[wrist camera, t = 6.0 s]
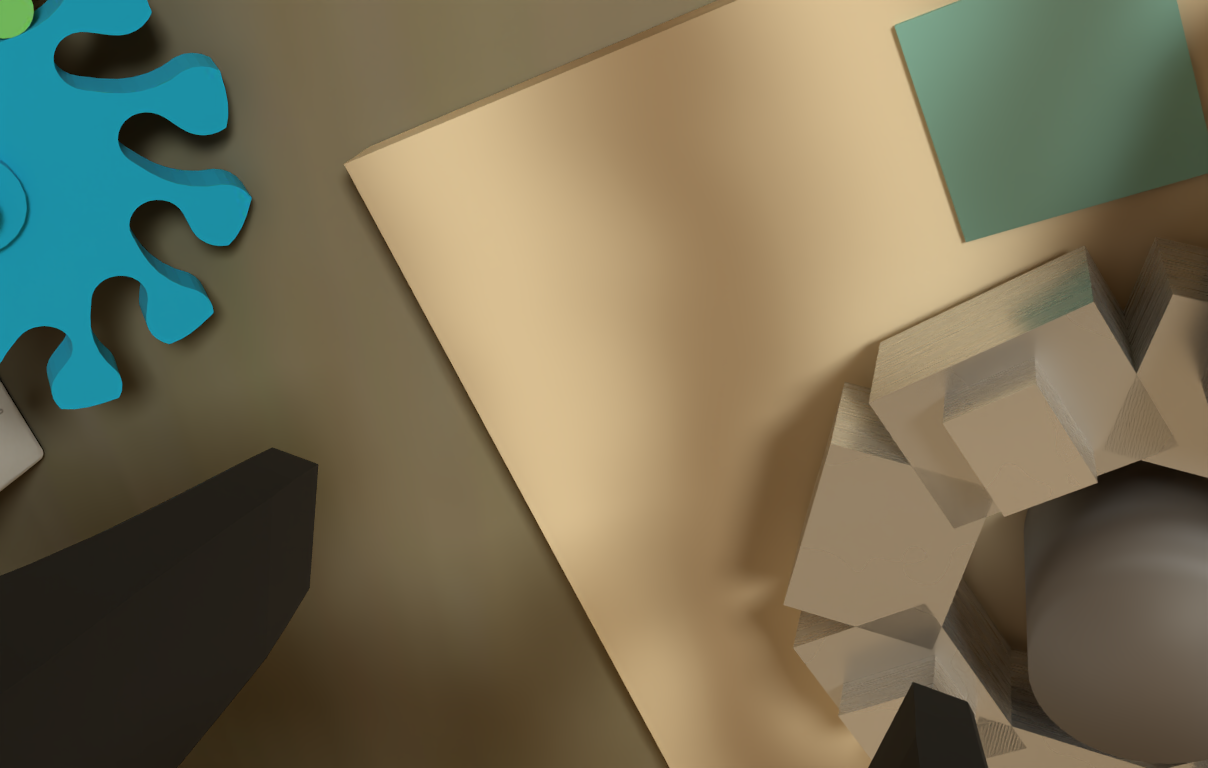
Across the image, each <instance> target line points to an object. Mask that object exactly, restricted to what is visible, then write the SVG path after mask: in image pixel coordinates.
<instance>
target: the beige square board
mask: <svg viewBox="0 0 1208 768" xmlns="http://www.w3.org/2000/svg"><path fill="white" fill-rule="evenodd" d="M344 165H345V167H346V169H347V171H348V173H349V174H350V176H351V178H352V180H353V182H354V184H355V185H356V187H357V189H358V191H359V193H360V195H361V197H362V198H363V200H364V202H365V204H366V206H367V208H368V210H369V211H370V213H371V215H372V217H373V219H374V221H375V223H376V224H377V226H378V228H379V230H380V232H381V234H382V236H383V237H384V239H385V241H386V243H387V245H388V247H389V249H390V250H391V252H392V254H393V256H394V258H395V260H396V261H397V263H398V265H399V267H400V269H401V271H402V273H403V274H404V276H405V278H406V280H407V282H408V284H409V286H410V287H411V289H412V291H413V293H414V295H415V297H416V299H417V300H418V302H419V304H420V306H421V308H422V310H423V312H424V313H425V315H426V317H427V319H428V321H429V323H430V325H431V326H432V328H433V330H434V332H435V334H436V336H437V337H438V339H439V341H440V343H441V345H442V347H443V349H444V350H445V352H446V354H447V356H448V358H449V360H450V362H451V363H452V365H453V367H454V369H455V371H456V373H457V375H458V376H459V378H460V380H461V382H462V384H463V386H464V388H465V389H466V391H467V393H468V395H469V397H470V399H471V401H472V402H473V404H474V406H475V408H476V410H477V412H478V413H479V415H480V417H481V419H482V421H483V423H484V425H485V426H486V428H487V430H488V432H489V434H490V436H491V438H492V439H493V441H494V443H495V445H496V447H497V449H498V451H499V452H500V454H501V456H502V458H503V460H504V462H505V464H506V465H507V467H508V469H509V471H510V473H511V475H512V477H513V478H514V480H515V482H516V484H517V486H518V488H519V489H520V491H521V493H522V495H523V497H524V499H525V501H526V502H527V504H528V506H529V508H530V510H531V512H532V514H533V515H534V517H535V519H536V521H537V523H538V525H539V527H540V528H541V530H542V532H543V534H544V536H545V538H546V540H547V541H548V543H549V545H550V547H551V549H552V551H553V553H554V554H555V556H556V558H557V560H558V562H559V564H560V565H561V567H562V569H563V571H564V573H565V575H566V577H567V578H568V580H569V582H570V584H571V586H572V588H573V590H574V591H575V593H576V595H577V597H578V599H579V601H580V603H581V604H582V606H583V608H584V610H585V612H586V614H587V616H588V617H589V619H590V621H591V623H592V625H593V627H594V629H595V630H596V632H597V634H598V636H599V638H600V640H601V641H602V643H603V645H604V647H605V649H606V651H607V653H608V654H609V656H610V658H611V660H612V662H613V664H614V666H615V667H616V669H617V671H618V673H619V675H620V677H621V679H622V680H623V682H624V684H625V686H626V688H627V690H628V692H629V693H630V695H631V697H632V699H633V701H634V703H635V705H636V706H637V708H638V710H639V712H640V714H641V716H642V717H643V719H644V721H645V723H646V725H647V727H648V729H649V730H650V732H651V734H652V736H653V738H654V740H655V742H656V743H657V745H658V747H659V749H660V751H661V753H662V755H663V756H664V758H665V760H666V762H667V764H668V766H669V768H868V767H869V765H870V763H871V761H872V760H871V759H870V757H869V756H868V755H867V753H866V752H865V751H864V749H863V748H862V747H861V745H860V744H859V743H858V741H857V740H856V739H855V737H854V736H853V735H852V733H851V732H850V731H849V730H848V728H847V727H846V726H845V724H844V723H843V722H842V720H841V719H840V718H839V716H838V715H839V708H838V707H837V705H836V704H835V703H834V701H833V700H832V699H831V698H830V696H829V695H828V694H827V692H826V691H825V690H824V688H823V687H822V686H821V684H820V683H819V682H818V680H817V679H816V678H815V676H814V675H813V674H812V672H811V671H810V670H809V668H808V667H807V666H806V664H805V663H804V662H803V660H802V659H801V658H800V656H799V655H798V654H797V653H796V651H795V650H794V649H793V646H794V641H795V636H796V632H797V627H798V623H799V618H800V614H801V610H798V609H795V608H792V607H788V606H785V605H783V604H784V600H785V596H786V592H787V588H788V583H789V579H790V575H791V571H792V567H793V563H794V558H795V554H796V550H797V546H798V542H799V538H800V534H801V530H802V527H803V524H804V520H805V517H806V513H807V510H808V507H809V503H810V500H811V496H812V493H813V489H814V486H815V483H816V479H817V476H818V472H819V469H820V465H821V462H822V459H823V455H824V452H825V448H826V445H827V441H828V438H829V435H830V431H831V428H832V424H833V421H834V417H835V414H836V411H837V407H838V404H839V400H840V397H841V393H842V390H843V387H844V383H845V382H848V383H851V384H855V385H859V386H863V387H867V388H870V389H871V388H872V383H873V378H874V372H875V367H876V361H877V356H878V351H879V345H880V342H883V341H885V340H887V339H889V338H891V337H893V336H895V335H897V334H899V333H901V332H903V331H906V330H908V329H910V328H912V327H914V326H916V325H918V324H920V323H922V322H924V321H927V320H929V319H931V318H933V317H935V316H937V315H939V314H941V313H943V312H945V311H947V310H950V309H952V308H954V307H956V306H958V305H960V304H962V303H964V302H966V301H968V300H971V299H973V298H975V297H977V296H979V295H981V294H983V293H985V292H987V291H989V290H991V289H994V288H996V287H998V286H1000V285H1002V284H1004V283H1006V282H1008V281H1010V280H1012V279H1015V278H1017V277H1019V276H1021V275H1023V274H1025V273H1027V272H1029V271H1031V270H1033V269H1035V268H1038V267H1040V266H1042V265H1044V264H1046V263H1048V262H1050V261H1052V260H1054V259H1056V258H1059V257H1061V256H1063V255H1065V254H1067V253H1069V252H1071V251H1073V250H1075V249H1077V248H1079V247H1082V246H1084V245H1085V247H1086V249H1087V250H1088V252H1089V254H1090V255H1091V257H1092V259H1093V261H1094V262H1095V264H1096V266H1097V267H1098V269H1099V271H1100V272H1101V274H1102V276H1103V278H1104V279H1105V281H1106V283H1107V284H1108V286H1109V288H1110V290H1111V291H1112V293H1113V295H1114V296H1115V298H1116V300H1117V301H1118V303H1119V305H1120V307H1121V308H1122V310H1123V311H1124V309H1125V307H1126V304H1127V302H1128V300H1129V297H1130V295H1131V293H1132V290H1133V288H1134V286H1135V284H1136V281H1137V279H1138V277H1139V274H1140V272H1141V270H1142V267H1143V265H1144V263H1145V261H1146V258H1147V256H1148V254H1149V251H1150V249H1151V247H1152V244H1153V242H1154V240H1155V238H1156V237H1158V238H1162V239H1166V240H1171V241H1175V242H1180V243H1184V244H1188V245H1193V246H1197V247H1201V248H1206V249H1208V0H717V1H715V2H712V3H710V4H708V5H705V6H703V7H701V8H698V9H696V10H693V11H691V12H689V13H686V14H684V15H681V16H679V17H677V18H674V19H672V20H670V21H667V22H665V23H662V24H660V25H658V26H655V27H653V28H651V29H648V30H646V31H643V32H641V33H639V34H636V35H634V36H632V37H629V38H627V39H624V40H622V41H620V42H617V43H615V44H613V45H610V46H608V47H605V48H603V49H601V50H598V51H596V52H593V53H591V54H589V55H586V56H584V57H582V58H579V59H577V60H574V61H572V62H570V63H567V64H565V65H563V66H560V67H558V68H555V69H553V70H551V71H548V72H546V73H544V74H541V75H539V76H536V77H534V78H532V79H529V80H527V81H525V82H522V83H520V84H517V85H515V86H513V87H510V88H508V89H505V90H503V91H501V92H498V93H496V94H494V95H491V96H489V97H486V98H484V99H482V100H479V101H477V102H475V103H472V104H470V105H467V106H465V107H463V108H460V109H458V110H456V111H453V112H451V113H448V114H446V115H444V116H441V117H439V118H437V119H434V120H432V121H429V122H427V123H425V124H422V125H420V126H417V127H415V128H413V129H410V130H408V131H406V132H403V133H401V134H398V135H396V136H394V137H391V138H389V139H387V140H384V141H382V142H379V143H377V144H375V145H372V146H370V147H368V148H367V149H365V150H364V151H362V152H361V153H359V154H358V155H357V156H355V157H354V158H352V159H351V160H349V161H348V162H346V163H345V164H344ZM1097 481H1098V483H1096V484H1093V485H1090V486H1087V487H1085V488H1082V489H1079V490H1077V491H1074V492H1071V493H1068V494H1066V495H1063V496H1060V497H1057V498H1055V499H1052V500H1049V501H1046V502H1044V503H1041V504H1038V505H1035V506H1033V507H1030V508H1027V509H1025V510H1022V511H1019V512H1016V513H1014V514H1011V515H1008V516H1005V517H1004V516H1003V514H1002V513H1001V512H998V513H996V514H993V515H990V516H987V517H986V519H985V521H984V524H983V526H982V529H981V531H980V534H979V536H978V539H977V541H976V544H975V546H974V549H973V551H972V554H971V556H970V559H969V561H968V563H967V566H966V568H965V571H964V573H963V576H962V577H963V579H964V580H965V582H966V583H967V585H968V586H969V587H970V589H971V590H972V592H973V593H974V595H975V596H976V598H977V599H978V601H979V602H980V604H981V605H982V606H983V608H984V609H985V611H986V612H987V614H988V615H989V617H990V618H991V620H992V621H993V622H994V624H995V625H996V627H997V628H998V630H999V631H1000V633H1001V634H1002V636H1003V637H1004V639H1005V640H1006V641H1007V643H1008V644H1009V646H1010V647H1011V648H1014V649H1017V650H1021V651H1024V652H1027V654H1028V674H1029V681H1030V685H1031V688H1032V691H1033V693H1034V695H1035V698H1036V700H1037V702H1038V703H1039V705H1040V706H1041V708H1042V709H1043V711H1044V712H1045V713H1046V714H1047V715H1048V717H1049V718H1050V719H1051V720H1052V721H1053V722H1054V723H1055V724H1056V725H1057V726H1059V727H1060V728H1061V729H1062V730H1063V731H1065V732H1066V733H1067V734H1069V735H1070V736H1072V737H1073V738H1075V739H1076V740H1078V741H1080V742H1082V743H1084V744H1086V745H1087V746H1090V747H1092V748H1094V749H1097V750H1099V751H1101V752H1104V753H1107V754H1110V755H1113V756H1116V757H1120V758H1125V759H1129V760H1134V761H1141V762H1148V763H1163V764H1173V763H1189V762H1197V761H1203V760H1208V478H1207V477H1203V476H1199V475H1196V474H1192V473H1188V472H1184V471H1180V470H1177V469H1173V468H1169V467H1165V466H1161V465H1158V464H1154V463H1150V462H1146V461H1142V460H1139V461H1136V462H1134V463H1131V464H1128V465H1126V466H1123V467H1120V468H1117V469H1115V470H1112V471H1109V472H1107V473H1104V474H1101V475H1099V476H1097Z"/></svg>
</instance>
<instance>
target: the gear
mask: <svg viewBox="0 0 1208 768" xmlns="http://www.w3.org/2000/svg"><path fill="white" fill-rule="evenodd" d="M151 13H152V11H151V9H150V6H149V4H148V2H147V0H47V1H46V2H45V3H44V4H43V5H42V6H41V7H39V8H38V9H37V10H35V11H34V9H33V3H32V0H0V363H1V361H2V360H3V358H4V356H5V355H6V353H7V352H8V351H9V349H10V348H11V347H12V345H13V344H14V343H15V341H16V340H17V339H18V338H19V337H20V336H21V335H22V334H23V333H24V332H26V331H27V330H29V329H32V328H34V327H40V326H50V327H54V328H57V329H60V330H62V331H63V332H64V333H66V336H65V338H64V340H63V341H62V343H61V344H60V345H59V346H58V348H57V349H56V350H55V352H54V353H53V354H52V356H51V357H50V359H49V361H48V364H47V375H48V379H49V384H50V388H51V392H52V396H53V399H54V401H55V402H56V404H57V405H58V406H59V407H60V408H61V409H79V408H86V407H90V406H94V405H98V404H102V403H105V402H108V401H111V400H114V399H117V398H119V397H120V394H121V392H122V381H121V377H120V374H119V371H118V368H117V365H116V362H115V359H114V356H113V355H112V353H111V352H110V351H109V350H108V349H107V348H106V347H105V346H104V345H103V344H102V343H101V342H100V341H99V340H98V338H97V337H96V336H95V334H94V333H93V331H92V329H91V320H90V313H91V299H92V294H93V292H94V290H95V288H96V287H97V286H98V285H99V284H100V283H101V282H102V281H104V280H105V279H108V278H110V277H114V276H128V277H132V278H134V279H136V280H138V281H139V282H140V292H139V305H140V308H141V311H142V313H143V316H144V318H145V321H146V324H147V326H148V329H149V330H150V332H151V333H152V335H154V336H155V337H156V338H157V339H158V340H160V341H162V342H164V343H168V344H171V343H173V342H176V341H178V340H181V339H182V338H184V337H185V336H187V335H189V334H190V333H192V332H193V331H194V330H195V329H197V328H198V327H199V326H200V325H202V324H203V323H204V322H205V321H206V320H207V319H208V318H209V317H210V316H211V315H212V314H213V313H214V311H213V306H212V304H211V302H210V300H209V298H208V296H207V294H206V292H205V290H204V288H203V286H202V284H201V282H200V281H199V280H198V279H197V278H196V277H195V276H193V275H191V274H190V273H188V272H185V271H181V270H178V269H175V268H173V267H170V266H168V265H166V264H164V263H162V262H161V261H159V260H158V259H157V258H155V257H154V256H152V255H151V254H150V253H149V252H148V251H147V250H146V249H145V248H144V247H143V246H142V245H141V244H140V242H139V241H138V239H137V238H136V237H135V235H134V234H133V232H132V230H131V228H130V226H129V223H130V218H131V216H132V214H133V212H134V211H135V210H136V209H137V208H138V207H139V206H140V205H142V204H143V203H146V202H148V201H153V200H164V201H168V202H171V203H173V204H175V205H176V206H177V207H178V208H179V209H180V210H181V211H182V213H183V214H184V216H185V218H186V220H187V222H188V224H189V225H190V227H191V229H192V231H193V232H194V234H195V235H196V236H197V237H198V238H199V239H200V240H202V241H204V242H206V243H208V244H211V245H215V246H227V245H229V244H230V243H231V242H232V241H233V240H234V239H235V238H236V236H237V235H238V233H239V231H240V229H241V228H242V226H243V223H244V221H245V218H246V216H247V213H248V209H249V206H250V203H251V199H252V198H251V196H250V194H249V193H248V191H247V190H246V188H245V187H244V185H243V184H242V182H241V181H240V180H239V179H238V178H237V177H236V176H235V175H233V174H232V173H230V172H228V171H225V170H222V169H207V170H200V171H188V170H178V169H172V168H168V167H165V166H162V165H159V164H156V163H153V162H151V161H149V160H148V159H146V158H144V157H142V156H140V155H138V154H137V153H135V152H134V151H132V150H130V149H129V148H127V147H126V146H124V145H123V144H121V143H120V142H119V141H118V134H119V130H120V128H121V126H122V125H123V123H124V122H125V121H126V120H127V119H128V118H130V117H131V116H133V115H136V114H139V113H144V112H148V113H155V114H159V115H161V116H163V117H165V118H166V119H168V120H169V121H171V122H172V123H174V124H175V125H177V126H178V127H180V128H181V129H183V130H185V131H187V132H189V133H192V134H196V135H210V134H214V133H217V132H220V131H221V130H223V129H225V128H226V126H227V120H228V101H227V96H226V90H225V87H224V83H223V80H222V76H221V73H220V70H219V69H218V67H217V66H216V65H215V63H214V62H213V61H212V59H211V58H210V57H208V56H205V55H202V54H197V53H188V54H182V55H179V56H177V57H174V58H173V59H172V60H170V61H169V62H167V63H166V64H164V65H163V66H161V67H159V68H157V69H155V70H153V71H151V72H149V73H146V74H142V75H139V76H135V77H130V78H121V79H103V78H92V77H83V76H76V75H72V74H69V73H67V72H65V71H63V70H62V69H60V68H59V67H58V66H57V65H56V64H55V63H54V52H55V49H56V47H57V45H58V44H59V42H60V41H61V40H62V39H64V38H65V37H66V36H68V35H70V34H72V33H77V32H91V33H99V34H106V35H125V34H129V33H132V32H134V31H136V30H138V29H139V28H140V27H142V26H143V25H144V24H145V23H146V22H147V20H148V19H149V17H150V15H151Z"/></svg>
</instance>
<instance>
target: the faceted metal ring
mask: <svg viewBox="0 0 1208 768" xmlns="http://www.w3.org/2000/svg"><path fill="white" fill-rule="evenodd" d="M1139 460H1142V461H1146V462H1150V463H1154V464H1158V465H1161V466H1165V467H1169V468H1173V469H1177V470H1180V471H1184V472H1188V473H1192V474H1196V475H1199V476H1203V477H1207V478H1208V249H1206V248H1201V247H1197V246H1193V245H1188V244H1184V243H1180V242H1175V241H1171V240H1166V239H1162V238H1158V237H1156V238H1155V240H1154V242H1153V244H1152V247H1151V249H1150V251H1149V254H1148V256H1147V258H1146V261H1145V263H1144V265H1143V267H1142V270H1141V272H1140V274H1139V277H1138V279H1137V281H1136V284H1135V286H1134V288H1133V290H1132V293H1131V295H1130V297H1129V300H1128V302H1127V304H1126V307H1125V309H1124V311H1123V310H1122V308H1121V307H1120V305H1119V303H1118V301H1117V300H1116V298H1115V296H1114V295H1113V293H1112V291H1111V290H1110V288H1109V286H1108V284H1107V283H1106V281H1105V279H1104V278H1103V276H1102V274H1101V272H1100V271H1099V269H1098V267H1097V266H1096V264H1095V262H1094V261H1093V259H1092V257H1091V255H1090V254H1089V252H1088V250H1087V249H1086V247H1085V245H1084V246H1082V247H1079V248H1077V249H1075V250H1073V251H1071V252H1069V253H1067V254H1065V255H1063V256H1061V257H1059V258H1056V259H1054V260H1052V261H1050V262H1048V263H1046V264H1044V265H1042V266H1040V267H1038V268H1035V269H1033V270H1031V271H1029V272H1027V273H1025V274H1023V275H1021V276H1019V277H1017V278H1015V279H1012V280H1010V281H1008V282H1006V283H1004V284H1002V285H1000V286H998V287H996V288H994V289H991V290H989V291H987V292H985V293H983V294H981V295H979V296H977V297H975V298H973V299H971V300H968V301H966V302H964V303H962V304H960V305H958V306H956V307H954V308H952V309H950V310H947V311H945V312H943V313H941V314H939V315H937V316H935V317H933V318H931V319H929V320H927V321H924V322H922V323H920V324H918V325H916V326H914V327H912V328H910V329H908V330H906V331H903V332H901V333H899V334H897V335H895V336H893V337H891V338H889V339H887V340H885V341H883V342H880V345H879V351H878V356H877V361H876V367H875V372H874V378H873V383H872V388H871V389H870V388H867V387H863V386H859V385H855V384H851V383H848V382H845V383H844V387H843V390H842V393H841V397H840V400H839V404H838V407H837V411H836V414H835V417H834V421H833V424H832V428H831V431H830V435H829V438H828V441H827V445H826V448H825V452H824V455H823V459H822V462H821V465H820V469H819V472H818V476H817V479H816V483H815V486H814V489H813V493H812V496H811V500H810V503H809V507H808V510H807V513H806V517H805V520H804V524H803V527H802V530H801V534H800V538H799V542H798V546H797V550H796V554H795V558H794V563H793V567H792V571H791V575H790V579H789V583H788V588H787V592H786V596H785V600H784V604H783V605H785V606H788V607H792V608H795V609H798V610H801V614H800V618H799V623H798V627H797V632H796V636H795V641H794V646H793V649H794V650H795V651H796V653H797V654H798V655H799V656H800V658H801V659H802V660H803V662H804V663H805V664H806V666H807V667H808V668H809V670H810V671H811V672H812V674H813V675H814V676H815V678H816V679H817V680H818V682H819V683H820V684H821V686H822V687H823V688H824V690H825V691H826V692H827V694H828V695H829V696H830V698H831V699H832V700H833V701H834V703H835V704H836V705H837V707H838V708H839V715H838V716H839V718H840V719H841V720H842V722H843V723H844V724H845V726H846V727H847V728H848V730H849V731H850V732H851V733H852V735H853V736H854V737H855V739H856V740H857V741H858V743H859V744H860V745H861V747H862V748H863V749H864V751H865V752H866V753H867V755H868V756H869V757H870V759H871V760H872V759H873V757H874V755H875V753H876V752H877V750H878V748H879V746H880V744H881V742H882V740H883V738H884V736H885V734H886V732H887V730H888V729H889V727H890V725H891V723H892V721H893V719H894V717H895V715H896V713H897V711H898V709H899V707H900V705H901V704H902V702H903V700H904V698H905V696H906V694H907V692H908V690H909V688H910V686H911V684H912V682H915V683H918V684H921V685H923V686H926V687H929V688H932V689H934V690H937V691H940V692H943V693H945V694H948V695H951V696H954V697H956V698H959V699H962V700H965V701H967V702H968V703H969V705H970V707H971V709H972V711H973V713H974V717H975V721H976V724H977V728H978V732H979V736H980V739H981V743H982V747H983V750H984V754H985V757H986V761H987V765H988V768H1208V760H1203V761H1197V762H1189V763H1173V764H1163V763H1148V762H1141V761H1134V760H1129V759H1125V758H1120V757H1116V756H1113V755H1110V754H1107V753H1104V752H1101V751H1099V750H1097V749H1094V748H1092V747H1090V746H1087V745H1086V744H1084V743H1082V742H1080V741H1078V740H1076V739H1075V738H1073V737H1072V736H1070V735H1069V734H1067V733H1066V732H1065V731H1063V730H1062V729H1061V728H1060V727H1059V726H1057V725H1056V724H1055V723H1054V722H1053V721H1052V720H1051V719H1050V718H1049V717H1048V715H1047V714H1046V713H1045V712H1044V711H1043V709H1042V708H1041V706H1040V705H1039V703H1038V702H1037V700H1036V698H1035V695H1034V693H1033V691H1032V688H1031V685H1030V681H1029V674H1028V654H1027V652H1024V651H1021V650H1017V649H1014V648H1011V647H1010V646H1009V644H1008V643H1007V641H1006V640H1005V639H1004V637H1003V636H1002V634H1001V633H1000V631H999V630H998V628H997V627H996V625H995V624H994V622H993V621H992V620H991V618H990V617H989V615H988V614H987V612H986V611H985V609H984V608H983V606H982V605H981V604H980V602H979V601H978V599H977V598H976V596H975V595H974V593H973V592H972V590H971V589H970V587H969V586H968V585H967V583H966V582H965V580H964V579H963V577H962V576H963V573H964V571H965V568H966V566H967V563H968V561H969V559H970V556H971V554H972V551H973V549H974V546H975V544H976V541H977V539H978V536H979V534H980V531H981V529H982V526H983V524H984V521H985V519H986V517H987V516H990V515H993V514H996V513H998V512H1001V513H1002V514H1003V516H1004V517H1005V516H1008V515H1011V514H1014V513H1016V512H1019V511H1022V510H1025V509H1027V508H1030V507H1033V506H1035V505H1038V504H1041V503H1044V502H1046V501H1049V500H1052V499H1055V498H1057V497H1060V496H1063V495H1066V494H1068V493H1071V492H1074V491H1077V490H1079V489H1082V488H1085V487H1087V486H1090V485H1093V484H1096V483H1098V481H1097V476H1099V475H1101V474H1104V473H1107V472H1109V471H1112V470H1115V469H1117V468H1120V467H1123V466H1126V465H1128V464H1131V463H1134V462H1136V461H1139Z"/></svg>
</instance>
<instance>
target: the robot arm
mask: <svg viewBox="0 0 1208 768" xmlns="http://www.w3.org/2000/svg"><path fill="white" fill-rule="evenodd" d="M317 475H318V464H316V463H313V462H311V461H308V460H305V459H302V458H300V457H297V456H294V455H291V454H289V453H286V452H283V451H280V450H278V449H275V448H270V449H268V450H266V451H264V452H262V453H260V454H258V455H256V456H254V457H252V458H250V459H248V460H246V461H244V462H242V463H240V464H238V465H236V466H234V467H232V468H230V469H228V470H226V471H224V472H222V473H220V474H218V475H216V476H214V477H212V478H210V479H209V480H207V481H205V482H203V483H201V484H199V485H197V486H195V487H193V488H191V489H189V490H187V491H185V492H183V493H181V494H179V495H177V496H175V497H173V498H171V499H169V500H167V501H165V502H163V503H161V504H159V505H157V506H155V507H153V508H151V509H149V510H147V511H145V512H143V513H141V514H139V515H137V516H135V517H133V518H131V519H129V520H126V521H124V522H122V523H120V524H118V525H116V526H114V527H112V528H110V529H108V530H106V531H104V532H102V533H99V534H97V535H95V536H93V537H91V538H88V539H86V540H84V541H82V542H79V543H77V544H75V545H72V546H70V547H68V548H66V549H63V550H61V551H59V552H56V553H54V554H52V555H50V556H47V557H45V558H43V559H40V560H38V561H36V562H34V563H31V564H29V565H27V566H24V567H22V568H19V569H17V570H14V571H12V572H9V573H7V574H4V575H1V576H0V768H177V767H178V766H179V765H180V764H181V762H182V761H183V760H184V759H185V757H186V756H187V755H188V754H189V753H190V751H191V750H192V749H193V748H194V747H195V745H196V744H197V743H198V742H199V740H200V739H201V738H202V737H203V736H204V734H205V733H206V732H207V731H208V729H209V728H210V727H211V726H212V725H213V723H214V722H215V721H216V720H217V718H218V717H219V716H220V715H221V714H222V712H223V711H224V710H225V709H226V707H227V706H228V705H229V704H230V702H231V701H232V700H233V699H234V697H235V696H236V695H237V694H238V693H239V691H240V690H241V689H242V688H243V686H244V685H245V684H246V683H247V681H248V680H249V679H250V678H251V676H252V675H253V674H254V673H255V671H256V670H257V669H258V668H259V666H260V665H261V664H262V662H263V661H264V660H265V659H266V657H267V656H268V654H269V653H270V651H271V649H272V648H273V646H274V645H275V643H276V642H277V640H278V639H279V637H280V635H281V634H282V632H283V631H284V629H285V628H286V626H287V624H288V623H289V621H290V619H291V618H292V616H293V614H294V613H295V611H296V609H297V608H298V606H299V605H300V603H301V601H302V600H303V598H304V596H305V595H306V593H307V591H308V590H309V588H310V574H311V559H312V545H313V531H314V517H315V503H316V489H317ZM868 768H988V765H987V761H986V757H985V754H984V750H983V747H982V743H981V739H980V736H979V732H978V728H977V724H976V721H975V717H974V713H973V711H972V709H971V707H970V705H969V703H968V702H967V701H965V700H962V699H959V698H956V697H954V696H951V695H948V694H945V693H943V692H940V691H937V690H934V689H932V688H929V687H926V686H923V685H921V684H918V683H915V682H912V684H911V686H910V688H909V690H908V692H907V694H906V696H905V698H904V700H903V702H902V704H901V705H900V707H899V709H898V711H897V713H896V715H895V717H894V719H893V721H892V723H891V725H890V727H889V729H888V730H887V732H886V734H885V736H884V738H883V740H882V742H881V744H880V746H879V748H878V750H877V752H876V753H875V755H874V757H873V759H872V761H871V763H870V765H869V767H868Z"/></svg>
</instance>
